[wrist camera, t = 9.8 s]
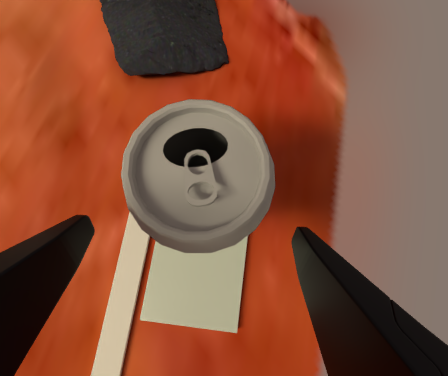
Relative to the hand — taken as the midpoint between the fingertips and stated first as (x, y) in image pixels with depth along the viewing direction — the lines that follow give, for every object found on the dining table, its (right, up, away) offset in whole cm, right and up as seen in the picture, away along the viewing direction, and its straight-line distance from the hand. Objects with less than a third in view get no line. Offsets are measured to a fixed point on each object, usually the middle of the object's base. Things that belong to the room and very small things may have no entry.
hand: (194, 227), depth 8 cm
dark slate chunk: (-7, +25, +17) cm, 31 cm away
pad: (-1, -3, +11) cm, 11 cm away
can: (0, 0, +11) cm, 11 cm away
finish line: (-8, -5, +10) cm, 14 cm away
